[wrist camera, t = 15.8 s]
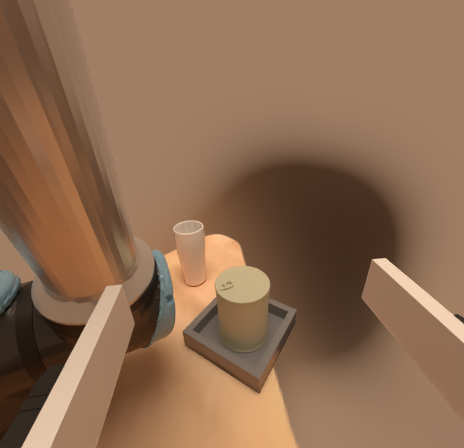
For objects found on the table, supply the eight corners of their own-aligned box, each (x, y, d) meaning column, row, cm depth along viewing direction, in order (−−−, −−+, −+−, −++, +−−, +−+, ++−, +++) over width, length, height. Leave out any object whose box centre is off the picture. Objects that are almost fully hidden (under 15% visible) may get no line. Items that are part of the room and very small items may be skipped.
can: (212, 319, 47) (208, 270, 42) (255, 305, 50) (255, 258, 44) (228, 360, 39) (224, 308, 34) (277, 342, 42) (281, 290, 37)
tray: (185, 344, 43) (182, 331, 42) (231, 294, 55) (230, 282, 53) (259, 393, 36) (259, 379, 34) (295, 322, 47) (296, 309, 45)
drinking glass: (182, 291, 56) (172, 236, 49) (181, 273, 62) (172, 222, 55) (210, 286, 57) (205, 231, 50) (206, 269, 63) (201, 218, 56)
